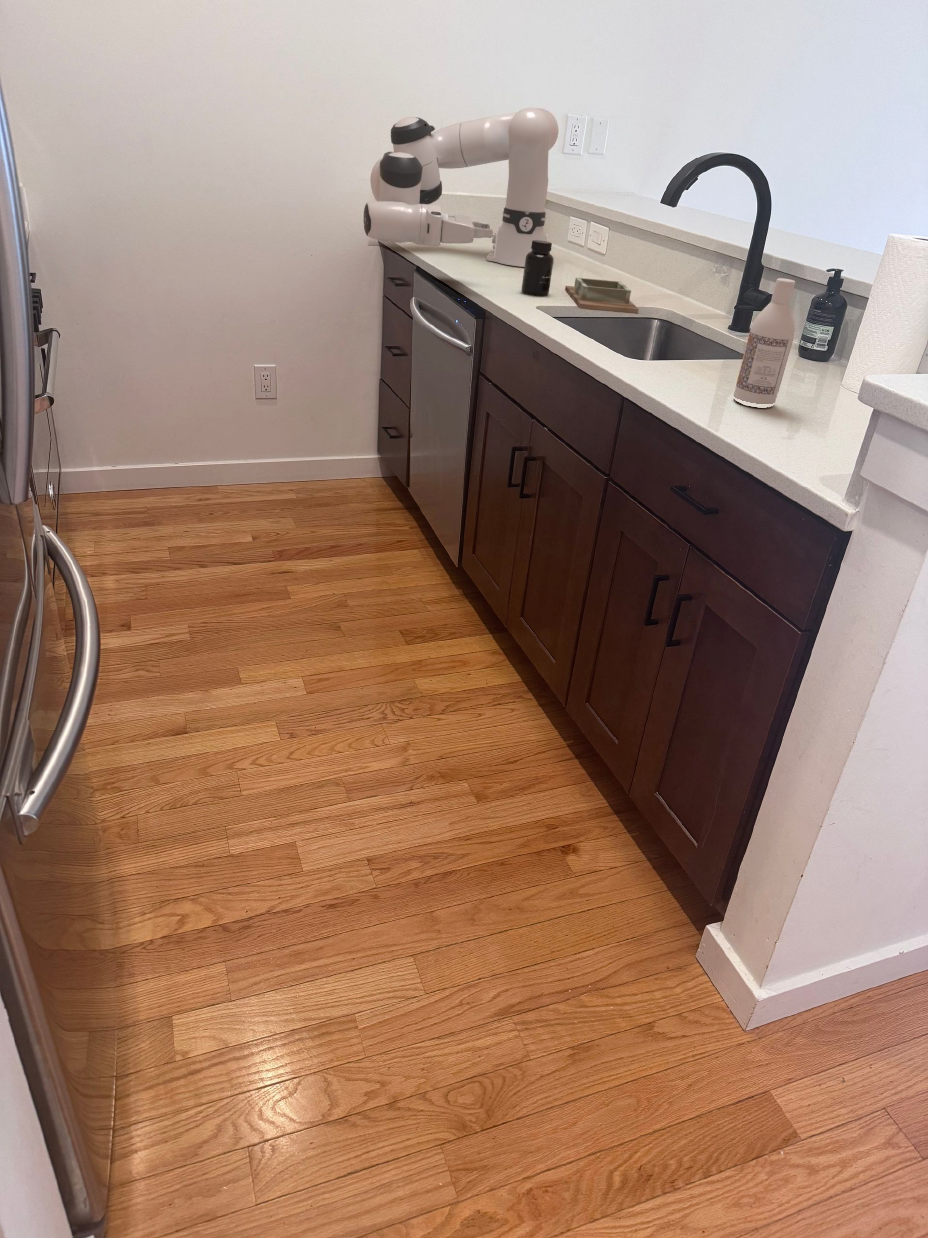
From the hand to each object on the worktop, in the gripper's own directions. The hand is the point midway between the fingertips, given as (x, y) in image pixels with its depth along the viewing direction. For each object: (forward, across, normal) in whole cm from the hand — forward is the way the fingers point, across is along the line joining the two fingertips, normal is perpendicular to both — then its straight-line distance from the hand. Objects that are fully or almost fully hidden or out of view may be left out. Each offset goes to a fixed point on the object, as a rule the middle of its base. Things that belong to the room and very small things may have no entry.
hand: (491, 230), depth 207 cm
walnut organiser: (+28, +1, -13) cm, 31 cm away
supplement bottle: (+12, -1, -14) cm, 18 cm away
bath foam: (+40, +80, -14) cm, 91 cm away
